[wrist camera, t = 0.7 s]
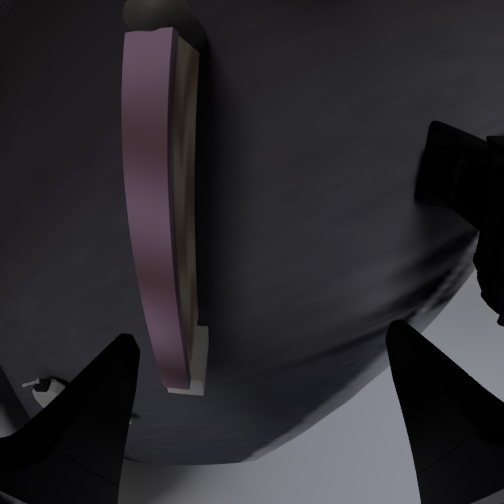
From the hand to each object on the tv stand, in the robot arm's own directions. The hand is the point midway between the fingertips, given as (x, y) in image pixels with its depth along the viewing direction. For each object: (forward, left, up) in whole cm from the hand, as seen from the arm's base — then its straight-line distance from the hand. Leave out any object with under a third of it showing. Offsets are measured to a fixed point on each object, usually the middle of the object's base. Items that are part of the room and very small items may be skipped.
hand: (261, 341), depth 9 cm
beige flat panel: (+5, -1, -12) cm, 12 cm away
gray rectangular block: (+5, +13, -12) cm, 18 cm away
